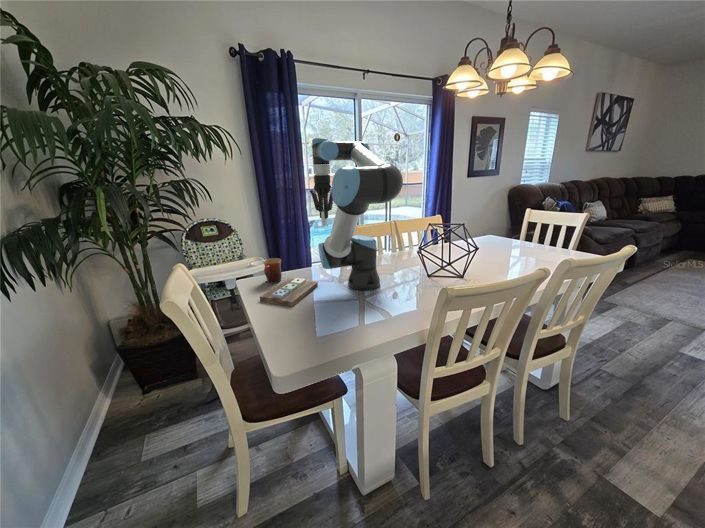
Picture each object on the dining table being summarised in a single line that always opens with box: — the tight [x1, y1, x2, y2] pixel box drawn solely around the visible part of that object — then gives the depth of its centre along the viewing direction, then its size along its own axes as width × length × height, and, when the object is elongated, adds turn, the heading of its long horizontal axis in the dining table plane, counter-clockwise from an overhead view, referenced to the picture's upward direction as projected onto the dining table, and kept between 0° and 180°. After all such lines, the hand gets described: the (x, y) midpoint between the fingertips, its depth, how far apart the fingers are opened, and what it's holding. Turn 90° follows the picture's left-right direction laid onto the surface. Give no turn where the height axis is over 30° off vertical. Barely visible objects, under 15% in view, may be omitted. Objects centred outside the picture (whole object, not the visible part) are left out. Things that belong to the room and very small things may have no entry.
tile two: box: [282, 283, 298, 292], centre depth 128 cm, size 5×5×4 cm
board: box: [259, 278, 319, 307], centre depth 128 cm, size 16×22×2 cm
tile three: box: [272, 289, 289, 299], centre depth 122 cm, size 5×5×4 cm
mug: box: [262, 257, 282, 283], centre depth 140 cm, size 12×9×10 cm
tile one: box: [291, 277, 307, 286], centre depth 134 cm, size 5×5×4 cm
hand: (324, 225), depth 140 cm, fingers closed
